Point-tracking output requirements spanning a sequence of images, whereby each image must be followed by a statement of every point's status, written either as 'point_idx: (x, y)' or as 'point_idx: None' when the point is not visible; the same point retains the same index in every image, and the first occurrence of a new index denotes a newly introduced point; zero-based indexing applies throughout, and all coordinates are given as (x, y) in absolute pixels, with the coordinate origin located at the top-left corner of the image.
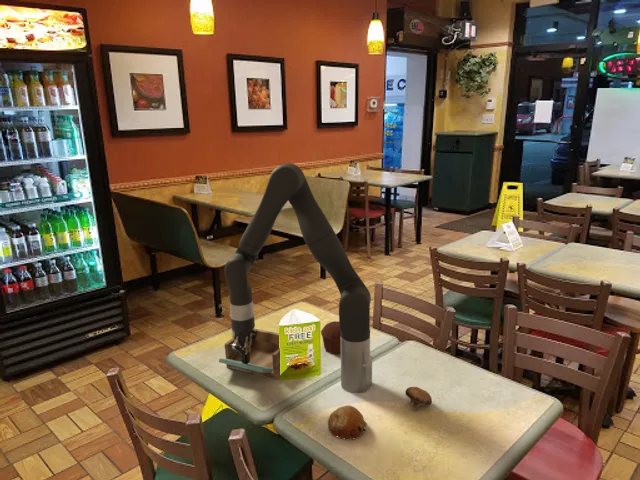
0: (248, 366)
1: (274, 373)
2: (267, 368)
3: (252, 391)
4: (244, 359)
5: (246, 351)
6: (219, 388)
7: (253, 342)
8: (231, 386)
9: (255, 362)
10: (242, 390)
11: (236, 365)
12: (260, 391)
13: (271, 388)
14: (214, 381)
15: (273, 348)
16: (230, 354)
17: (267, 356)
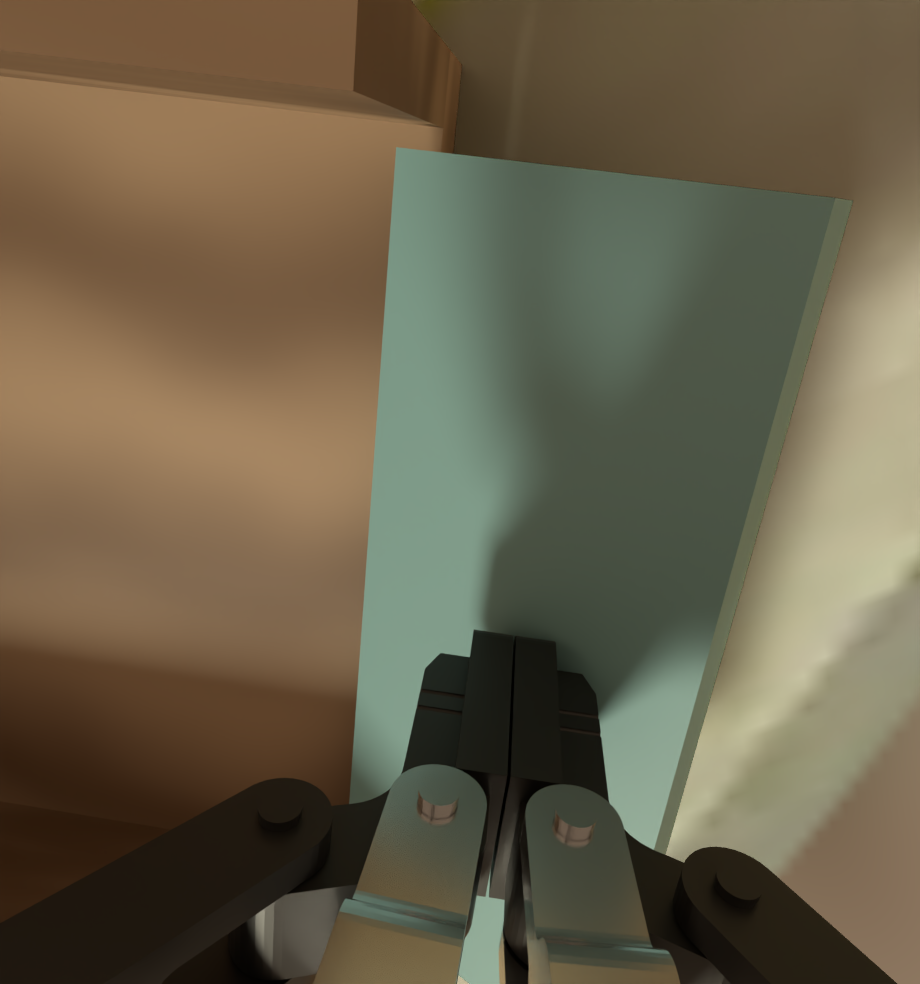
0: (734, 577)
1: (444, 100)
2: (543, 204)
3: (871, 317)
4: (598, 743)
5: (584, 854)
6: (846, 749)
7: (180, 876)
8: (780, 639)
9: (233, 564)
10: (860, 469)
11: (683, 786)
12: (858, 190)
13: (743, 35)
14: (703, 847)
15: None
16: None
17: (3, 461)
